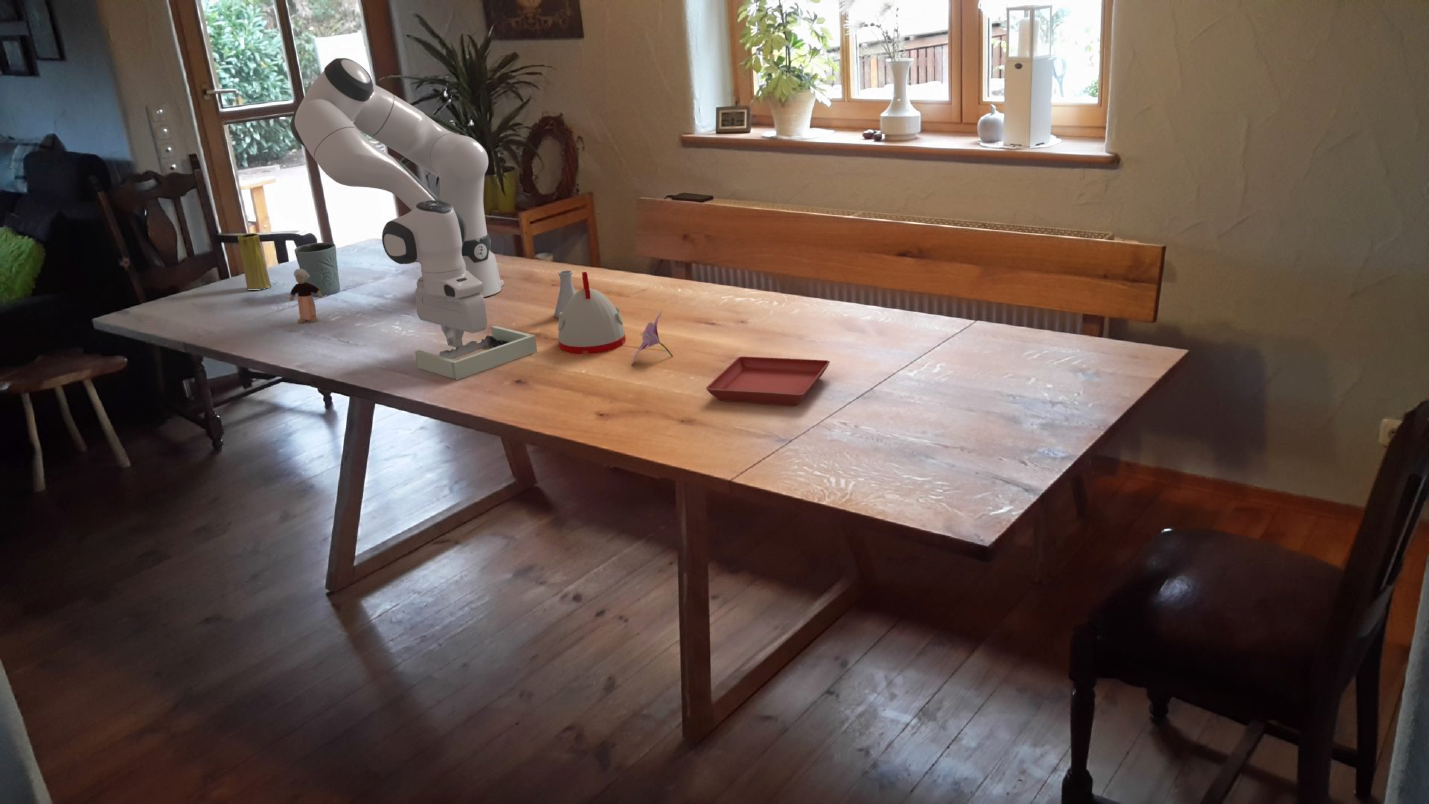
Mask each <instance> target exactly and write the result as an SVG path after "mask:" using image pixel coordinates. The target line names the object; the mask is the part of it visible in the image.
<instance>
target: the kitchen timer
mask: <svg viewBox="0 0 1429 804" xmlns="http://www.w3.org/2000/svg"><path fill="white" fill-rule="evenodd" d="M588 275H589V274H588V273H587V271H582V272H581V276H582V285H583V288H582V289H580V290H578V291H576V294H574V295H573V296H572V298H571V299H570V300H569V302H568V303H567V305H566V307H565V309H564V311H563V313H562V312H560V313H559V317H558V327H557V331H558V337H557V339H558V347H560V348H559V349H560V351H562V350H563V352H565V353H568V354H572V353H573V354H572V355H593V354H601V353H607V352H611V351H613V350H616V349H618V348H620V347H622V346H624V344H625V343H626V340H627V339H626V338H627V337H626V331H625V327H624V322H623V321H624V320H623V317H622V315H621V311H620V309H619V306H617V305H615V306H614V304H613V303H612V302H611V300H610V299H609V298H608V297H607V296H606V295H605V294H603V293H602V292H601V291H600V290H597V289H594V288H591V287H590V283H589V277H588Z"/></svg>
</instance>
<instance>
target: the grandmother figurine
mask: <svg viewBox="0 0 1429 804" xmlns="http://www.w3.org/2000/svg"><path fill="white" fill-rule="evenodd" d="M293 276H294V278H295V281H296V282H297V283H296V284H295V285H294V286H293V287H292V289H291V291H290V293H289V294H290V296H289V301H291V302H293V301H294V300H295V297H296V295H297V305H298V313H299V314H298V315H299V319H298V320H297V324H298V323H299V324H303V323H306V322H308V323H315V322H318V317H317V310H316V309H317V308H316V304H315V299H314V297H313V296H312V294H311V292H312V293H315V294H317V295H318V299H322V298H323V297H324V296H323V295H322V294H321V292H320V291H319V289H318V288H317V287H316V286H314V285H312V284H309V283H306V281H307V279H308V278H309V276H310V275H309V274H308V273H307V272H306V271H305V270H303V269H300V268H297V269H295V270H294V272H293Z"/></svg>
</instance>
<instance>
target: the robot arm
mask: <svg viewBox="0 0 1429 804" xmlns="http://www.w3.org/2000/svg"><path fill="white" fill-rule="evenodd" d="M373 82H374V81H373V80H372V76H371V75H370V73H369V72H368V70H366V69H365V68H364V67H363V66H362V65H361V64H360V63H357V62H356V61H355V60H353V59H350V58H348V57H347V58H346V57H342V58H341V57H339V58H336V57H335V59H333V60H331V61H330V62H329V63H328V64H326V65H325V66H324V69H323V71H322V72H321V73H320V75H318V76H317V78H316V79H315V80H314V81H313V82H312V83H311V85H310V86H309V87H308V90H307V92H306V94H305V95H304V96H303V99H302V100H301V102H300V104H299V106H298V108H297V110H294V112H293V113H292V117H291V119H290V124H289V125H290V126H289V127H290V130H291V134H292V136H293V137H294V139H295V140H296V141H297V142H298V144H300V145H301V146H303V147H305V148H306V150H307V151H308V152H309V154H310V156H311V157H312V158H313V160H314V161H315V162H316V163H317V164H318V166H319V168H320V169H321V170H322V171H323V172H324V174H325V175H327V177H329V178H330V179H331V180H333V181H334V182H336V183H337V184H340V185H343V186H345V187H353V188H354V187H355V188H371V189H378V190H382V191H386V192H387V193H388V192H389V193H391V194H393V195H395V196H396V197H397V198H398V199H399V200H400V201H402V203H404V204H405V206H406V207H408V208H409V210H411V211H408V213H405V214H404V215H402V216H398V217H396V218H393V219H391V220H389V221H388V222H386V224H385V225H384V227H383V228H382V229H383V230H382V232H381V233H382V234H381V242H382V246H383V250H384V251H385V254H386V255H387V257H388V258H389V259H390V260H392V261H393V262H394V263H396V264H399V265H410V264H414V263H418V264H420V269H421V276H419V278H418V279H417V281H416V288H415V292H414V293H415V294H414V295H415V296H414V297H415V309H416V314H417V316H418V319H419V320H421V321H425V322H428V323H432V324H436V325H440V328H441V331H442V332H443V334H444V336H445V338H446V343H447V346H449V347H453V348H456V347H458V346H460V345H464V344H463V337H464V333H465V332H467V333H470V334H476V333H480V332H482V331H485V330H486V329H487V326H488V316H487V315H488V314H487V307H486V302H485V297H490V296H493V295H495V294H497V293H499V292H500V291H501V290H502V289H503V288H502V286H504V285H505V282H504V280H503V279H501V277H500V274H499V273H500V272H499V269H498V263H497V260H496V256H495V253H493V252H492V251H491V248H492V244H491V242H492V241H491V238H490V234H489V233H488V231H487V224H486V216H485V207H484V191H485V190H484V189H485V176H486V175H485V174H486V172H487V171H488V167H489V156H488V153H487V151H486V149H485V148H484V147H483V146H482V144H480V143H479V142H478V141H477V140H476V139H474V138H473V137H470V136H468V135H464V134H463V135H462V134H459V133H455V132H453V131H450V130H448V129H446V128H445V127H444V126H441V125H440V124H439V123H438V122H436V121H434V120H433V119H432V118H431V117H430V116H428V115H427V114H425V112H423V111H422V110H420V109H418V108H416V107H415V106H413V105H412V104H410V103H408V101H405V100H404V99H402V98H400V97H398V96H397V95H396V94H393V93H391V92H390V91H388V90H387V89H385V88H382V87H380V86H379V85H376V84H375V83H373ZM365 135H366V136H368V137H370V138H372V139H373V140H375V141H377V142H378V143H380V144H382V145H384V146H386V147H387V148H389V149H391V150H392V151H394V152H397V153H398V154H400V155H401V156H403V157H404V158H406V159H407V160H409V161H411V163H414V164H415V165H416V166H419V167H420V168H422V169H424V171H426V172H428V173H429V174H431V175H433V176H435V177H437V178H439V197H438V196H437V195H436V194H435V193H434V192H433V191H432V190H431V189H430V188H429V187H428V186H427V185H426V184H425V183H424V182H423V181H421V180H420V179H419V177H417V176H416V174H414V172H413V171H411V169H409V168H408V167H407V166H406V165H405V164H404V163H403V162H402V161H401V160H399V159H398V158H397V157H395V156H393V155H392V154H390V153H387V152H386V151H384V150H382V149H381V148H379V147H378V146H376V145H375V144H374V143H372V142H371V141H370V140H369V139H367V137H366V136H365Z"/></svg>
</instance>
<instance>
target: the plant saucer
mask: <svg viewBox="0 0 1429 804" xmlns="http://www.w3.org/2000/svg"><path fill="white" fill-rule="evenodd" d="M829 365H830V360H828V359H825V360H824V359H809V358H808V359H807V358H806V359H805V358H804V359H803V358H790V357H788V358H783V357H763V356H762V357H760V356H745V355H744V356H738V357H737V358H736V359H735V360H733V361H732V363H731V364H729V365H728V366H727V367H726V368H725V369H724V370H722V372H721V373H720V374H719V375H717V376H716V378H715V379H713V380H712V381H711V382H710V383H709V384H708V385H707V386H706V388H705V389H706V390H707V392H709V394H710V395H712V396H713V397H714V398H716V399H717V400H719V401H723V402H734V403H751V404H762V405H765V404H766V405H776V406H791V407H795V406H796V407H797V406H798V405H799V404H800V403H801V401H802V400H803V398H805V396H807V394H808V392H809V391H810V390H812V388H813V387H814V386H815V384H816V383H817V382H818V381H819V379H821V377H822V376H823V374H824V373H825V371H826V370H827V368H828V367H829Z"/></svg>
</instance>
